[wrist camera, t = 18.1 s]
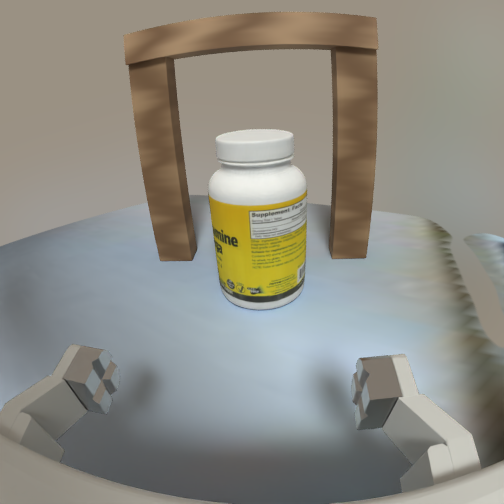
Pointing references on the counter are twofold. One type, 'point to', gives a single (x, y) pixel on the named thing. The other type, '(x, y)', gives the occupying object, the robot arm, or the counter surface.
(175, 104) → the walnut archway
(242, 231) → the pill bottle
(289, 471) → the counter surface
